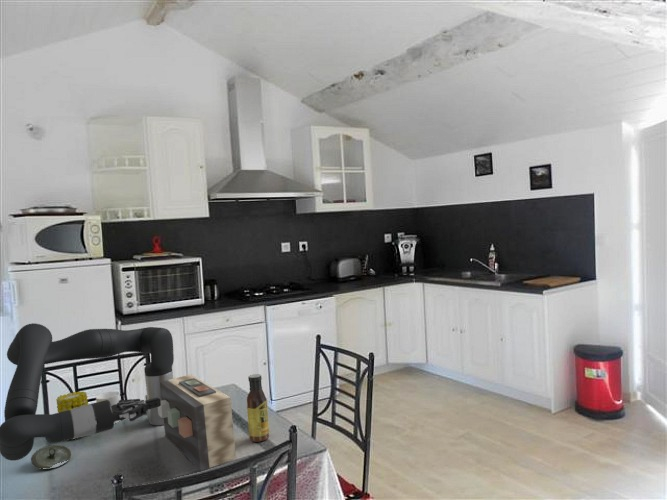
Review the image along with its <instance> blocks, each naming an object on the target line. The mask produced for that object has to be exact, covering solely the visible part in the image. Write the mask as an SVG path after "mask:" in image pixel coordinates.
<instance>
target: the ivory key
mask: <svg viewBox="0 0 667 500" xmlns="http://www.w3.org/2000/svg"><path fill="white" fill-rule="evenodd" d="M160 402H161V405H160V406H159V407H158V415H159V416H160V417H162V418H165V417H168V416H167V410H169V409H170V406H169V402H167V401H166V400H162V401H160Z"/></svg>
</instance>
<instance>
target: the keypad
mask: <svg viewBox="0 0 667 500" xmlns="http://www.w3.org/2000/svg"><path fill="white" fill-rule="evenodd" d="M160 388H161V398H162V400H166V401H167V402H169V406H170V409H172V408H176V409H177V410H179V411H180V418H184V417H187V418H189V419H190V420H191V421H192V431H193V435H192V436H189V437H186V438H184V437H183V436H181V435H180V434H179V426H177V427H171V426H170V425H169V424H168V417H165V418H164V424H163V427H164V434H165V435H164V437H165V438H167V439H168V440H169V442H171V443H172V444H173V445H174V446H175V447H176V448H177V449H178V450H179V451H180V452H181V453H182V454H183V455H184V456H185V457H186V458H187V459H188V460H189V461H190V462H191V463H192V464H193V465H194V466H195V467H197V468H198V471H201V472H202V471H205V470H207V469H210V468H213V467H215V466H218V465H221V464H225V463H228V462H230V461H233V460H236V459H237V455H236V444H235V433H234V424H233V422H234V421H233V411H232V410H233V409H232V401H231V400H232V399H231V397H230V395H227V394H225V393H224V392H222V391H220V390H219V389H217V388H215V387H213V386H212V385H210V384H208V383H207V382H205V380H204V381H203V380H202V379H200V378H198V377H197V376H195V375H193V374H187V375H183V376H180V377H173V379H170V380H166V381H162V382H160Z"/></svg>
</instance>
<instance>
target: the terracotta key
mask: <svg viewBox="0 0 667 500" xmlns="http://www.w3.org/2000/svg"><path fill="white" fill-rule="evenodd" d="M178 426H179V434H180V435H181V436H183V437H184V438H186V437H189V436H192V435H193V431H192V421H191V420H190V419H189V418H187V417H184V418H180V419H178Z"/></svg>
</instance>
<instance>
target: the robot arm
mask: <svg viewBox="0 0 667 500" xmlns="http://www.w3.org/2000/svg"><path fill="white" fill-rule="evenodd" d="M173 340H174V339H173V336H172V333H171V332H170V330H168V329H167V328H165V327H158V326H156V327H154V326H147V327H141V328H137V329H136V328H135V329H128V330H126V329H124V330H123V329H116V328H91V329H90V328H89V329H85V330H81V331H78V332H76V333H74V334H71V335H70V336H67V337H65V338H63V339H62V338H61V339H60V340H55V341H53V335H52V331H50V329H49V328H48V327H46V326H45V325H43V324H40V323H28V324H26V325H24V326H22V327H21V328H20V329H19V330H18V332H17V333H16V335H15V336H14V338H13V340H12V342H11V343H10V344H9V347H8V348H7V351H6V358H7V359H8V361H9V362H10V363H12V364H13V365H15V366H16V369H15V370H14V373H13V376H12V379H11V381H10V384H9V388H8V391H7V395H6V400H5V405H4V410H3V413H4V422H2V424H0V455H1V456H2V457H3V458H4V459H5V460H7V461H13V462H14V461H19V460H21V459H23V458H25V457H26V456H28V454H30V452H31V451H32V449H33V447H34V443H35V438H36V439H37V438H45V440H46V442H47V443H49V444H57V443H61V442H64V441H70V440H69V439H71V440H73V438H77V439H79V438H78V437H81V438H84V437H87V436H91V435H95V434H99V433H103V432H106V431H110V430H113V428H114V425H115V424H114V422H115V421H119V420H120V422H124V421H127V420H129V421H130V422H133V421H136V420H137V419H138V418H141V417H142V416H144V415H146V416H147V422H148V423H149V424H150V425H153V426H164V418H162V417H160V416H159V415H158V407H159V406H160V405H161V402H160V401H162V398H161V388H160V382H162V381H166V380H170V379H174V375H173V365H174V359H175V358H174V357H175V356H174V341H173ZM122 353H144V354H149V355H150V362H149V363H148V364H147V365H145V366H144V370H143V371H144V379H145V381H144V382H145V388H146V395H145V396H144V398H145V399H140V398H133V399H132V398H131V399H130V398H129V399H120V400H119V403H117V404H115V405H112V406H111V403H110V401H108V400H105V401H101V402H97V401H96V402H93V403H88V405H84V406H80V407H77V408H74V409H71V410H67V411H63V412H59V413H58V412H55V413H52V414H51V413H50V414H46V413H45V414H44V413H42V414H37V410H38V409H37V408H38V404H39V395H40V386H41V381H42V377H43V376H42V375H43V369H44V367H45V365H49V364H53V363H59V362H67V361H76V360H88V359H90V360H91V359H105V358H110V357H114V356H117V355H119V354H122Z"/></svg>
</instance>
